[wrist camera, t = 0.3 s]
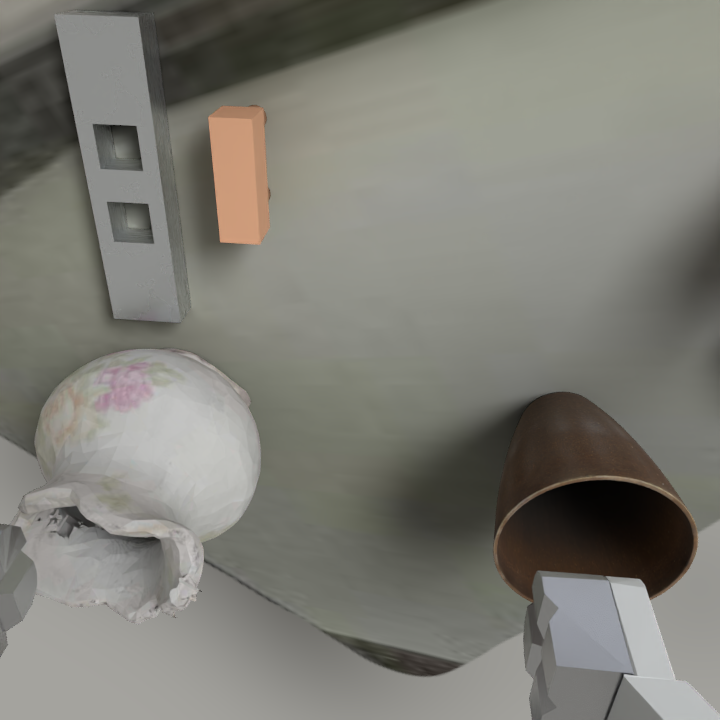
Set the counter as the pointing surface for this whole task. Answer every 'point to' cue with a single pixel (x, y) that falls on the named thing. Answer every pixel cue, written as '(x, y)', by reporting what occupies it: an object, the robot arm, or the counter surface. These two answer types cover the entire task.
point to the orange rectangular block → (240, 173)
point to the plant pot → (586, 502)
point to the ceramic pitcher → (137, 480)
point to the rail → (127, 176)
